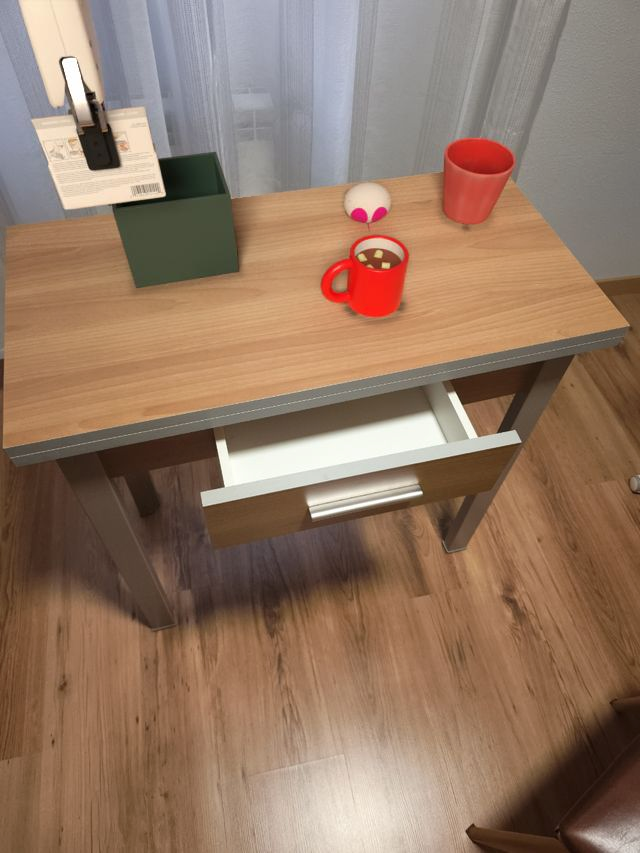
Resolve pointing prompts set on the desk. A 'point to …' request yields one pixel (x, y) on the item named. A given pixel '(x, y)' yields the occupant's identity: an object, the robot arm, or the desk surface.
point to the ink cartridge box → (108, 185)
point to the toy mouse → (367, 202)
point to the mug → (370, 276)
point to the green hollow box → (181, 224)
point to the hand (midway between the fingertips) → (104, 158)
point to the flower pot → (474, 178)
